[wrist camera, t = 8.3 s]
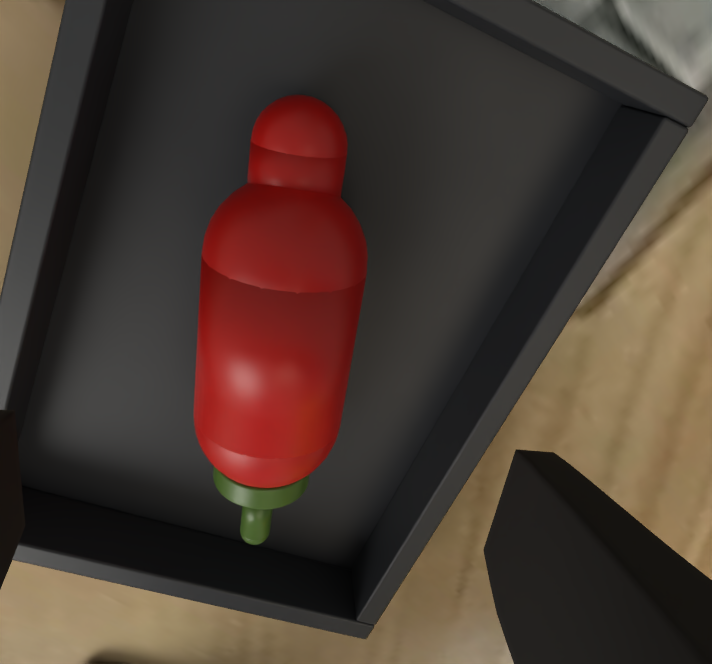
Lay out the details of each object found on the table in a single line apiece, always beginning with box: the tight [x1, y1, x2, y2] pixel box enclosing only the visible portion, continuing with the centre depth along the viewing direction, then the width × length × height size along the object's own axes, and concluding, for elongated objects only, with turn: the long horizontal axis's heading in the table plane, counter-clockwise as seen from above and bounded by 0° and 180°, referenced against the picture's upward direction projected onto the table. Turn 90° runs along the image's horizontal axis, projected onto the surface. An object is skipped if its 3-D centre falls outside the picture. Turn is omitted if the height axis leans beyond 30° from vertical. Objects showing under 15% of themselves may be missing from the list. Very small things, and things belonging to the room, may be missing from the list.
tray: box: [0, 0, 708, 639], centre depth 14 cm, size 15×11×2 cm
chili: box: [193, 95, 368, 545], centre depth 13 cm, size 10×3×3 cm, turn 171°
